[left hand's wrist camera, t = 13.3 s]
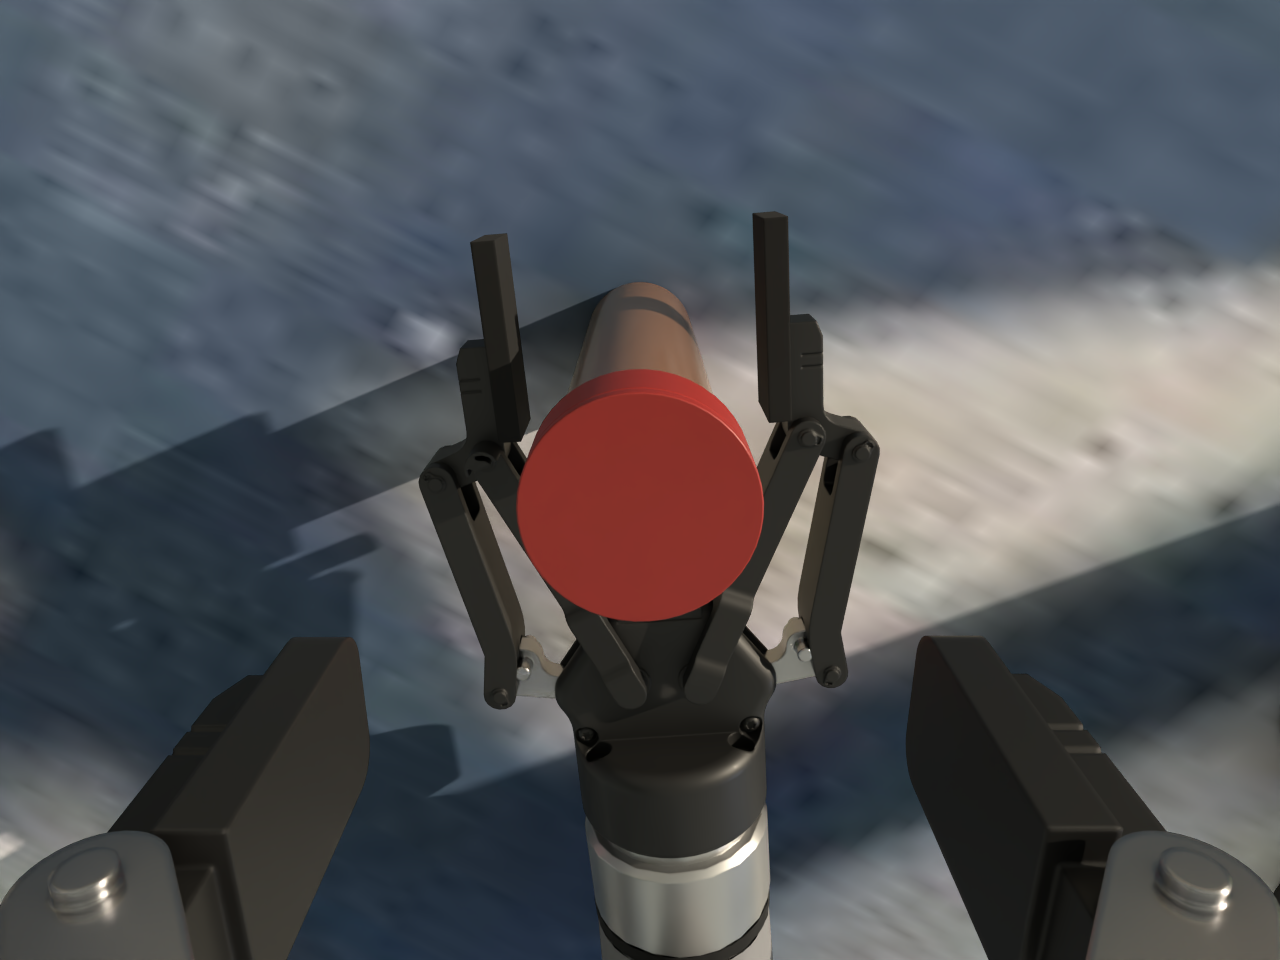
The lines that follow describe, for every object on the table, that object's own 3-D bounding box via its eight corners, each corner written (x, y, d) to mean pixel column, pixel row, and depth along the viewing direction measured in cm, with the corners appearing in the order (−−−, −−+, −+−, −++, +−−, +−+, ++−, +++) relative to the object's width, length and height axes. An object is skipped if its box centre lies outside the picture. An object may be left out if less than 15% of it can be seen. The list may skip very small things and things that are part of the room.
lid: (559, 596, 20) (550, 642, 19) (502, 395, 19) (486, 422, 17) (768, 555, 20) (782, 597, 18) (729, 345, 18) (740, 367, 16)
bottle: (601, 394, 36) (565, 612, 19) (577, 294, 35) (514, 430, 17) (700, 372, 36) (758, 574, 18) (680, 271, 35) (721, 386, 17)
